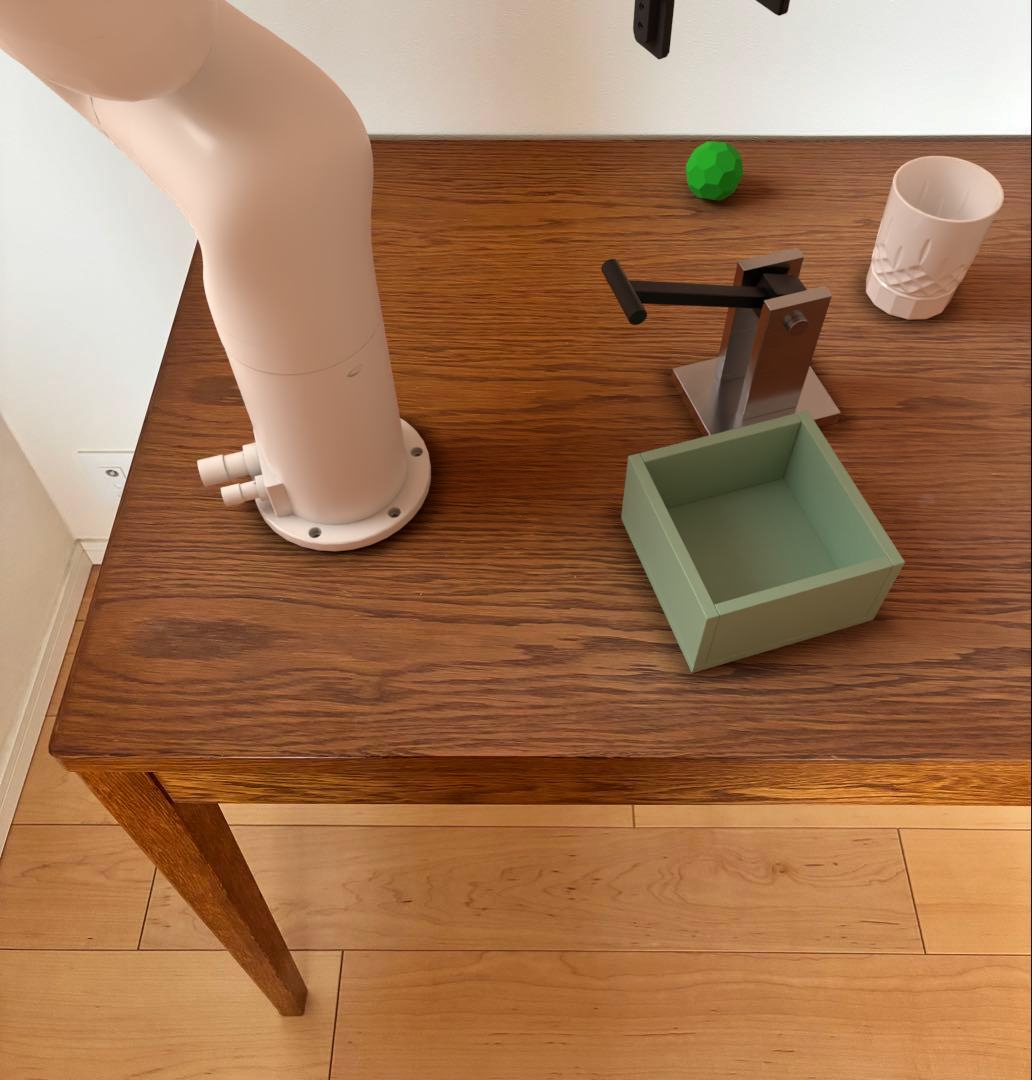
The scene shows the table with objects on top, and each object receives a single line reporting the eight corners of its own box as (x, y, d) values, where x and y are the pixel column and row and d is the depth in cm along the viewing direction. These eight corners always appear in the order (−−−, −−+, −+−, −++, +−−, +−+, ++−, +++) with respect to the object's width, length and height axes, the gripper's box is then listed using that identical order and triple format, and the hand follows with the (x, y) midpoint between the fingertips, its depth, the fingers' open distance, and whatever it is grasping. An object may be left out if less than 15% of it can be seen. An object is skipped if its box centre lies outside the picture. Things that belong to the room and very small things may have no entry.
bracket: (712, 455, 71) (739, 335, 62) (670, 379, 76) (689, 255, 66) (837, 423, 73) (883, 300, 63) (789, 350, 77) (825, 225, 68)
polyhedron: (678, 207, 87) (685, 160, 84) (686, 174, 90) (692, 127, 86) (735, 215, 87) (744, 167, 83) (741, 181, 89) (750, 133, 86)
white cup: (958, 331, 78) (1008, 227, 70) (856, 319, 79) (894, 215, 71) (954, 266, 82) (1000, 161, 74) (857, 255, 83) (892, 150, 75)
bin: (691, 673, 61) (706, 619, 56) (620, 518, 68) (627, 455, 63) (873, 620, 63) (905, 562, 58) (786, 474, 70) (807, 409, 65)
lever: (622, 332, 60) (637, 301, 59) (595, 280, 63) (608, 249, 61) (803, 338, 66) (821, 309, 64) (771, 290, 69) (787, 261, 67)
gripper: (835, -345, 56) (778, -32, 70) (577, -280, 52) (571, 40, 66) (928, -308, 52) (848, 14, 66) (658, -235, 48) (634, 94, 62)
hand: (711, 27), depth 66 cm, fingers open, 9 cm apart
